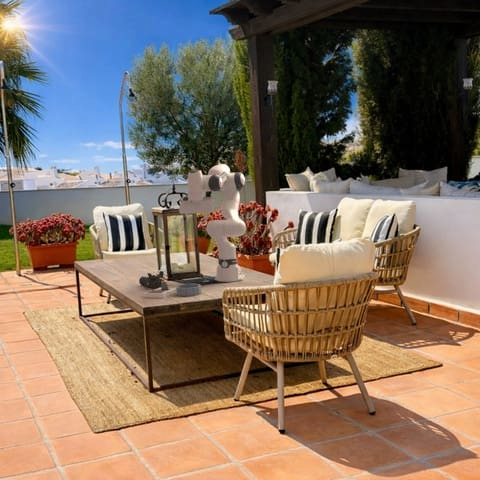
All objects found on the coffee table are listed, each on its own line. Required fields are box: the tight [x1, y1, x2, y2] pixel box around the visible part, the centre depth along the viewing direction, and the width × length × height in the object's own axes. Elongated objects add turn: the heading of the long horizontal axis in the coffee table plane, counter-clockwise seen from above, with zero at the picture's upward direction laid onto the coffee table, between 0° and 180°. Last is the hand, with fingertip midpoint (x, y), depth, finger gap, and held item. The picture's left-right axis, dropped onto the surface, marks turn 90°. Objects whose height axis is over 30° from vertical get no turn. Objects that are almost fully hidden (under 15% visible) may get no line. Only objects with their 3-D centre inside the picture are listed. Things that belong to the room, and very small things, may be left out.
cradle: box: [143, 287, 176, 299], centre depth 366 cm, size 21×12×3 cm, turn 162°
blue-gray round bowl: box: [175, 283, 202, 297], centre depth 363 cm, size 14×14×5 cm
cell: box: [161, 279, 169, 291], centre depth 370 cm, size 4×4×7 cm
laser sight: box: [138, 270, 165, 290], centre depth 389 cm, size 10×22×10 cm, turn 42°
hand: (196, 221), depth 369 cm, fingers open, 8 cm apart
